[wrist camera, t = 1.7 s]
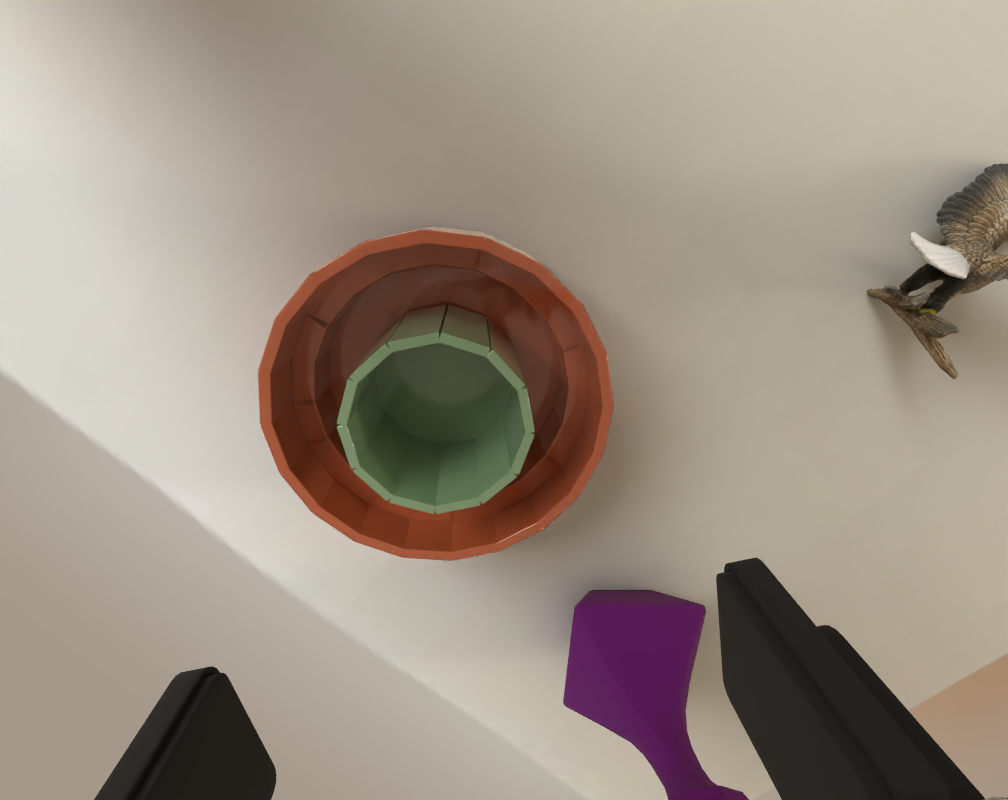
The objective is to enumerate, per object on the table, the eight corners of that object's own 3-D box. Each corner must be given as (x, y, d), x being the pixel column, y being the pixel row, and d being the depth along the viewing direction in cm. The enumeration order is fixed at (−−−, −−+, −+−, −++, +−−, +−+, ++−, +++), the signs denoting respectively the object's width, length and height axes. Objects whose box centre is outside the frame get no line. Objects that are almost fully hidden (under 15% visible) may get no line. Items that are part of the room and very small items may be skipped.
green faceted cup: (352, 322, 25) (312, 357, 19) (503, 291, 25) (513, 316, 19) (393, 457, 27) (370, 527, 21) (530, 430, 27) (546, 492, 21)
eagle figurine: (921, 384, 27) (1126, 282, 24) (981, 376, 20) (1273, 234, 17) (832, 269, 29) (1012, 161, 26) (861, 228, 22) (1107, 75, 19)
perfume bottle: (564, 567, 31) (673, 988, 14) (683, 568, 32) (925, 974, 15) (554, 661, 34) (637, 1111, 17) (665, 660, 34) (852, 1095, 17)
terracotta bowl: (258, 262, 24) (200, 275, 19) (562, 198, 24) (587, 195, 19) (350, 520, 29) (324, 586, 24) (601, 470, 29) (629, 526, 24)
